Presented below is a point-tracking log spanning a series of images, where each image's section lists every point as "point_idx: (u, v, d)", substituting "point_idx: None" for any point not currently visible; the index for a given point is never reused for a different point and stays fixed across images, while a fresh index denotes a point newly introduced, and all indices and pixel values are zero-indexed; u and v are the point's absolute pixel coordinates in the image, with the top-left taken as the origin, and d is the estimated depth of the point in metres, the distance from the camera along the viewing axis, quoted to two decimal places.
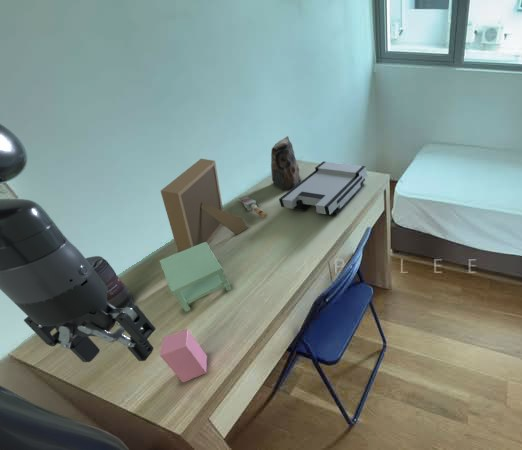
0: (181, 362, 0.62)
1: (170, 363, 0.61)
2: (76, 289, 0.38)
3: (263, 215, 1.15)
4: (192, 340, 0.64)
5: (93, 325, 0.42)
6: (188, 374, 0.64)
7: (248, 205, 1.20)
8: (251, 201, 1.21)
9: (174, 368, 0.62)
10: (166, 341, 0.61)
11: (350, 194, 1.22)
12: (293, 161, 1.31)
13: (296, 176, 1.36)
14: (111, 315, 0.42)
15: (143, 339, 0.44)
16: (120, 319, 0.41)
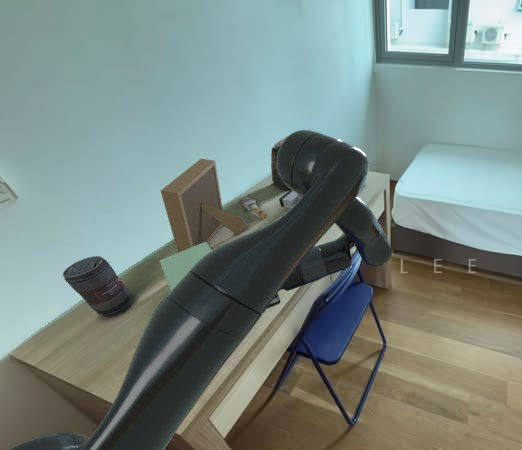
0: None
1: None
2: (300, 275, 0.63)
3: (263, 215, 1.15)
4: None
5: None
6: None
7: (248, 205, 1.20)
8: (251, 201, 1.21)
9: None
10: None
11: None
12: None
13: None
14: None
15: None
16: None
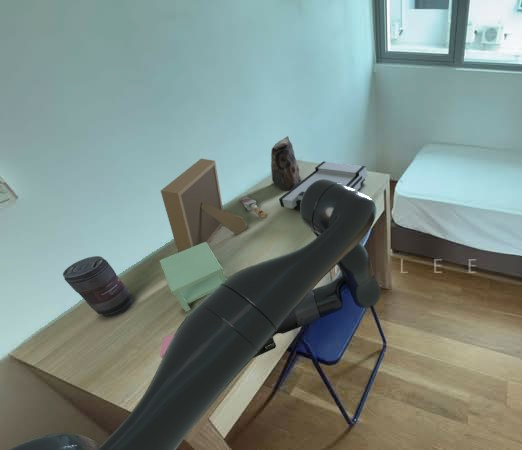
0: None
1: None
2: (295, 320, 0.68)
3: (263, 215, 1.15)
4: None
5: None
6: None
7: (248, 205, 1.20)
8: (251, 201, 1.21)
9: None
10: (166, 341, 0.61)
11: None
12: (293, 161, 1.31)
13: (296, 176, 1.36)
14: None
15: None
16: (270, 340, 0.64)
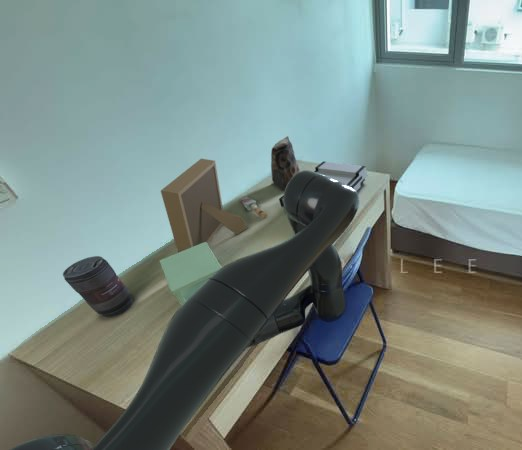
0: None
1: None
2: None
3: (263, 215, 1.15)
4: None
5: None
6: None
7: (248, 205, 1.20)
8: (251, 201, 1.21)
9: None
10: None
11: None
12: (293, 161, 1.31)
13: None
14: None
15: None
16: None
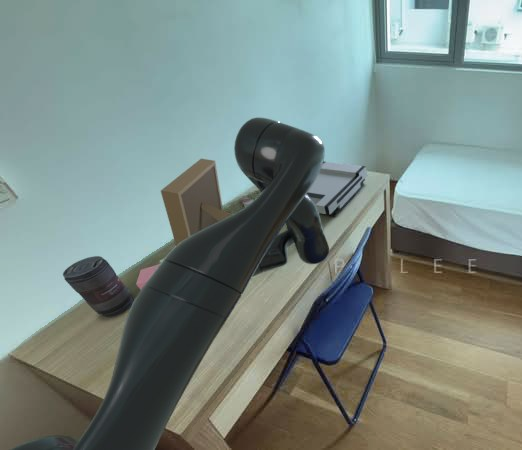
0: None
1: None
2: None
3: None
4: None
5: None
6: None
7: None
8: (251, 201, 1.21)
9: None
10: (143, 272, 0.61)
11: (350, 194, 1.22)
12: None
13: None
14: None
15: None
16: None
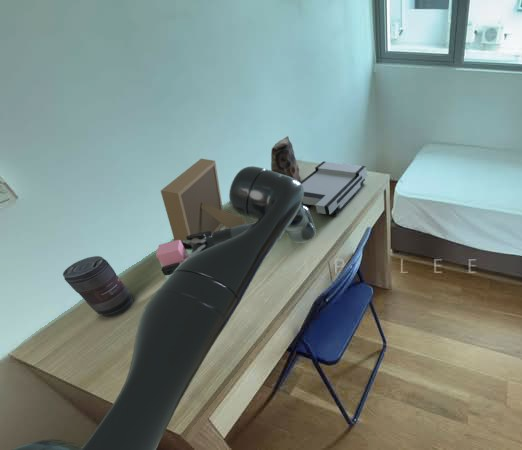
0: None
1: (165, 264, 0.73)
2: None
3: None
4: (183, 249, 0.77)
5: (203, 250, 0.76)
6: None
7: None
8: None
9: None
10: (161, 247, 0.74)
11: (350, 194, 1.22)
12: (293, 161, 1.31)
13: (296, 176, 1.36)
14: None
15: None
16: None
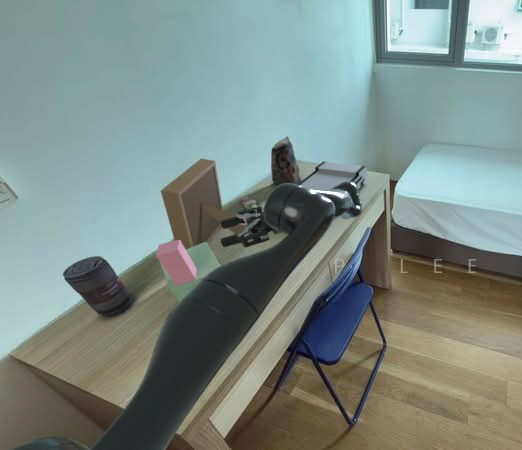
0: (173, 265, 0.74)
1: (165, 264, 0.73)
2: None
3: None
4: (183, 249, 0.77)
5: (258, 223, 0.77)
6: (180, 278, 0.77)
7: (248, 205, 1.20)
8: (251, 201, 1.21)
9: (168, 269, 0.74)
10: (161, 247, 0.74)
11: None
12: (293, 161, 1.31)
13: (296, 176, 1.36)
14: (264, 230, 0.76)
15: (245, 239, 0.72)
16: (265, 231, 0.74)
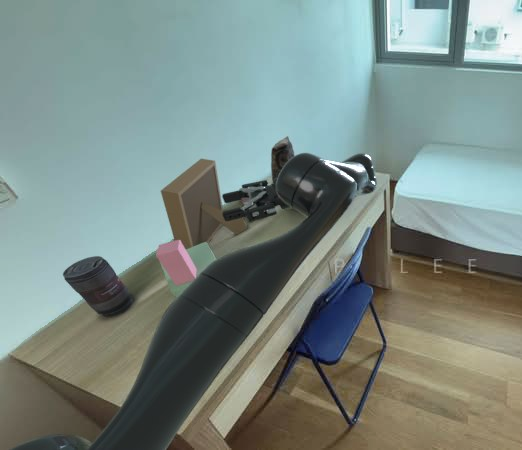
0: (173, 265, 0.74)
1: (165, 264, 0.73)
2: None
3: None
4: (183, 249, 0.77)
5: (264, 196, 0.69)
6: (180, 278, 0.77)
7: None
8: None
9: (168, 269, 0.74)
10: (161, 247, 0.74)
11: None
12: None
13: None
14: None
15: (250, 212, 0.64)
16: (271, 204, 0.66)
